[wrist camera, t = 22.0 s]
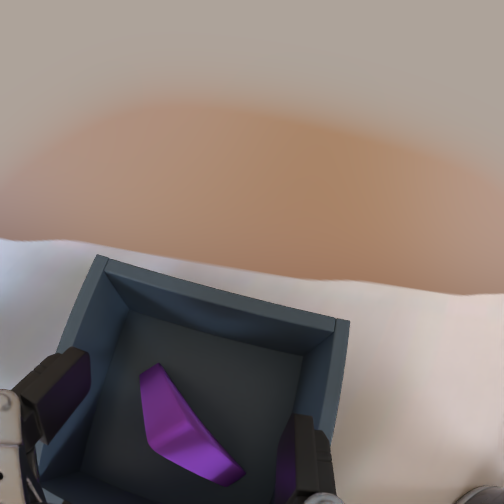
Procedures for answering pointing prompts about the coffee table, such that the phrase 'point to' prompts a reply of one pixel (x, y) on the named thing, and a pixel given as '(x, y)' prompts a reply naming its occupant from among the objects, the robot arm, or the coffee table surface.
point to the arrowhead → (182, 431)
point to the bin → (187, 386)
